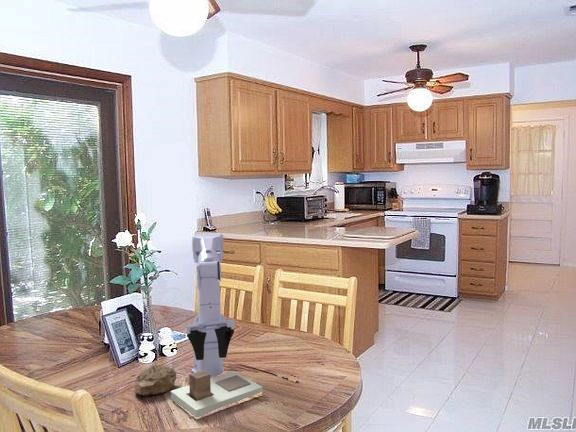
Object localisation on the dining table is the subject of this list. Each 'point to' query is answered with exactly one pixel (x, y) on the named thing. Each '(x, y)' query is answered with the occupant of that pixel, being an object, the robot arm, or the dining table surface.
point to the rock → (155, 380)
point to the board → (217, 393)
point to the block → (199, 385)
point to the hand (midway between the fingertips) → (211, 358)
